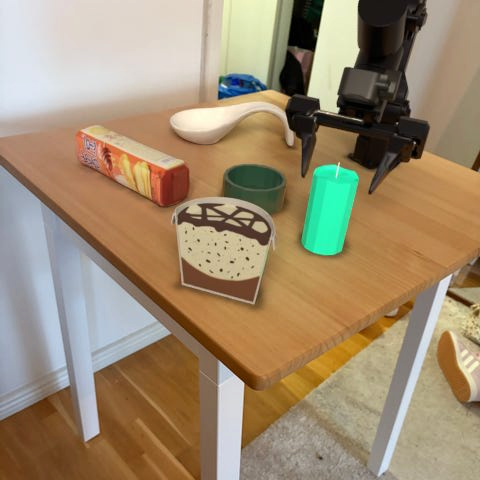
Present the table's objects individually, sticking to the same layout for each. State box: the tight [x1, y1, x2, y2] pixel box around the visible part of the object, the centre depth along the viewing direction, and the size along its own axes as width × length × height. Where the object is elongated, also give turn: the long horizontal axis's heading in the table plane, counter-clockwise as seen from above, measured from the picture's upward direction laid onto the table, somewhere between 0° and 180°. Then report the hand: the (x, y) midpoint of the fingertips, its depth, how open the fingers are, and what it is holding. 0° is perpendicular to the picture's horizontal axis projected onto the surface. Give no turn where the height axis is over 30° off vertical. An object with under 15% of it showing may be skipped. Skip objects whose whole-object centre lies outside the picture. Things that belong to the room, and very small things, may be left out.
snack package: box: [75, 124, 191, 208], centre depth 83 cm, size 21×7×7 cm, turn 48°
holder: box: [221, 163, 288, 215], centre depth 82 cm, size 10×10×4 cm
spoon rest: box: [169, 100, 295, 147], centre depth 100 cm, size 24×12×7 cm, turn 95°
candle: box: [300, 161, 360, 256], centre depth 71 cm, size 6×6×12 cm
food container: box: [170, 196, 278, 306], centre depth 63 cm, size 12×6×10 cm, turn 71°
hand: (335, 185), depth 70 cm, fingers open, 9 cm apart
